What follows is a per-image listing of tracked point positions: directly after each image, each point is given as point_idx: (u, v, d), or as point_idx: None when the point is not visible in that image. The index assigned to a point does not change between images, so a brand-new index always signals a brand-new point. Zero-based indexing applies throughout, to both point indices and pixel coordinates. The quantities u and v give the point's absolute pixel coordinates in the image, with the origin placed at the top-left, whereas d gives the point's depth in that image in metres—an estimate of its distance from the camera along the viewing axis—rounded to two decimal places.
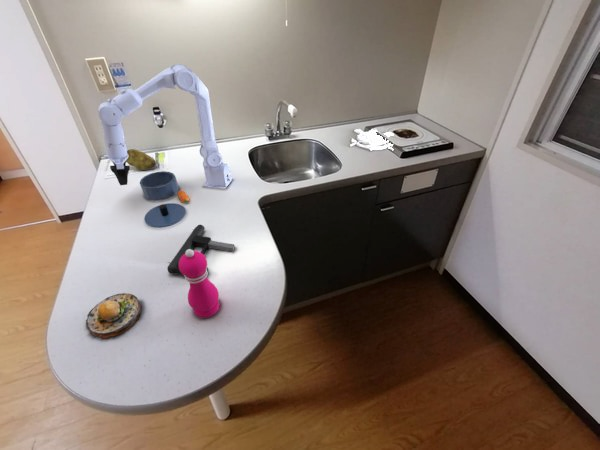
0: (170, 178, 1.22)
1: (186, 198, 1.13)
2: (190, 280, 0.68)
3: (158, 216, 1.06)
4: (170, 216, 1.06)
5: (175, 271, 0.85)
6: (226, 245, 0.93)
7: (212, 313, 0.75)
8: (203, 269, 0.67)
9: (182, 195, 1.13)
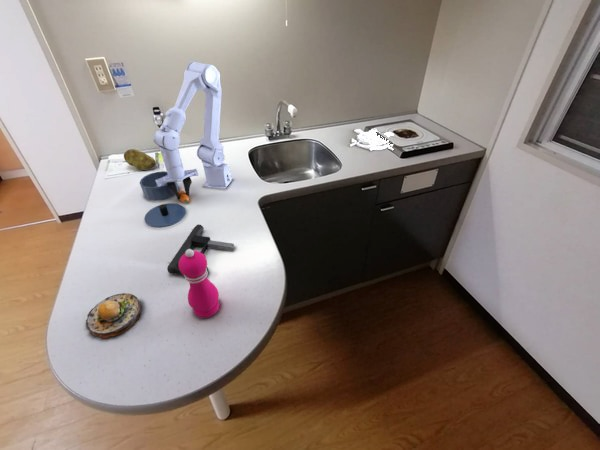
0: None
1: (186, 198, 1.13)
2: (190, 280, 0.68)
3: (158, 216, 1.06)
4: (170, 216, 1.06)
5: (175, 271, 0.85)
6: (226, 244, 0.93)
7: (212, 313, 0.75)
8: (203, 269, 0.67)
9: (182, 195, 1.13)
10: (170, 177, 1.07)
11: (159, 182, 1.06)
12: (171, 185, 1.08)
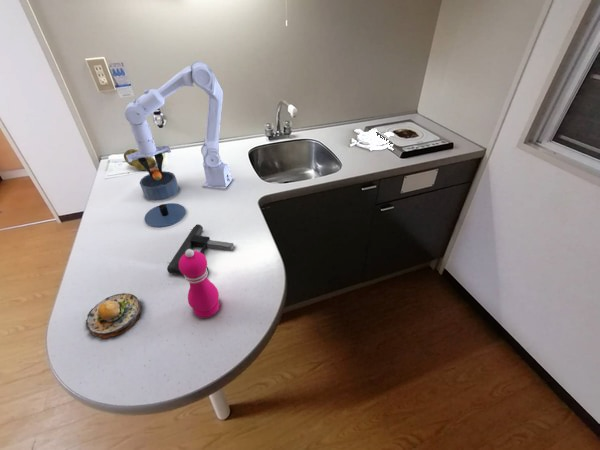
0: (170, 178, 1.22)
1: (158, 175, 1.12)
2: (190, 280, 0.68)
3: (158, 216, 1.06)
4: (170, 216, 1.06)
5: (175, 271, 0.85)
6: (225, 244, 0.94)
7: (212, 313, 0.75)
8: (203, 269, 0.67)
9: (154, 172, 1.13)
10: (141, 152, 1.07)
11: (129, 157, 1.06)
12: (142, 161, 1.08)
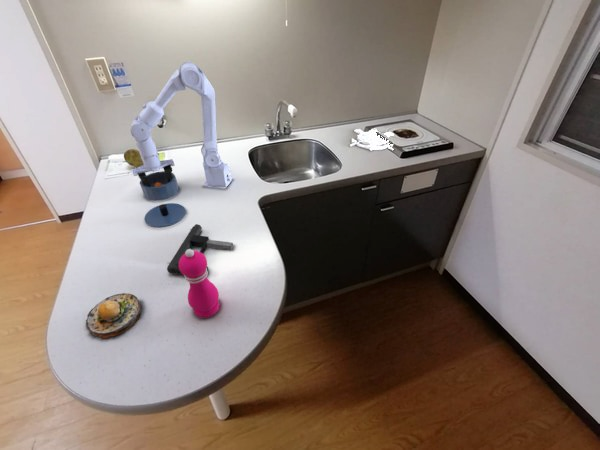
0: None
1: None
2: (190, 280, 0.68)
3: (158, 216, 1.06)
4: (170, 216, 1.06)
5: (175, 271, 0.85)
6: (225, 243, 0.94)
7: (212, 313, 0.75)
8: (203, 269, 0.67)
9: None
10: (146, 167, 1.10)
11: (135, 171, 1.09)
12: (142, 176, 1.11)
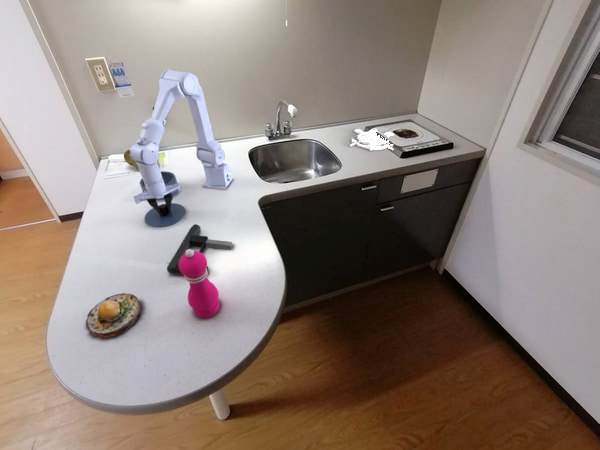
0: (170, 178, 1.22)
1: None
2: (190, 280, 0.68)
3: (158, 216, 1.06)
4: (170, 216, 1.06)
5: (175, 271, 0.85)
6: (224, 243, 0.94)
7: (212, 313, 0.75)
8: (203, 269, 0.67)
9: None
10: (149, 193, 0.99)
11: (137, 199, 0.98)
12: (151, 202, 1.00)
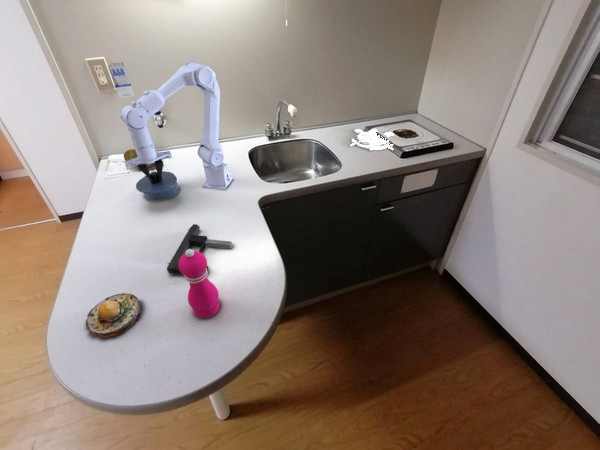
0: None
1: None
2: (190, 280, 0.68)
3: (149, 183, 1.07)
4: (161, 183, 1.07)
5: (175, 271, 0.85)
6: (224, 242, 0.94)
7: (212, 313, 0.75)
8: (203, 269, 0.67)
9: None
10: (140, 159, 1.00)
11: (128, 164, 0.99)
12: (142, 167, 1.01)
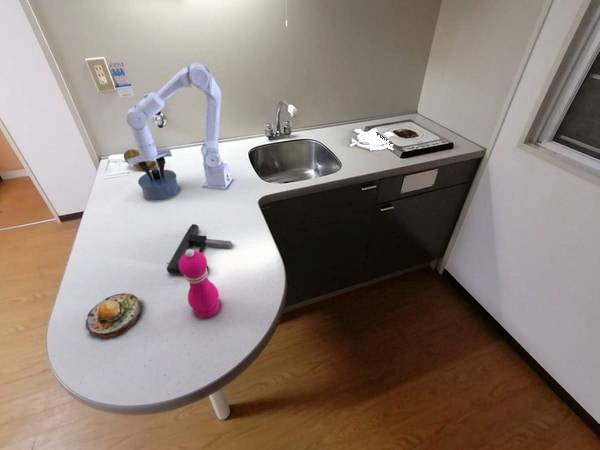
0: None
1: None
2: (190, 280, 0.68)
3: None
4: (162, 179, 1.15)
5: (175, 271, 0.85)
6: (223, 242, 0.94)
7: (212, 313, 0.75)
8: (203, 269, 0.67)
9: None
10: (142, 157, 1.08)
11: (131, 161, 1.07)
12: (142, 165, 1.09)
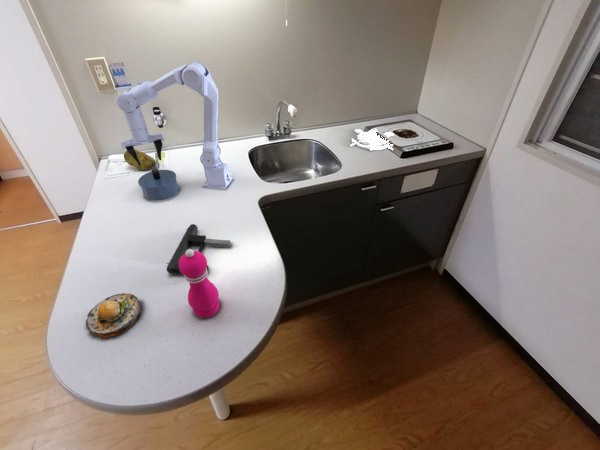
0: None
1: None
2: (190, 280, 0.68)
3: (151, 179, 1.15)
4: (162, 179, 1.15)
5: (175, 271, 0.85)
6: (222, 241, 0.94)
7: (212, 313, 0.75)
8: (203, 269, 0.67)
9: None
10: (135, 140, 1.10)
11: (124, 144, 1.09)
12: (130, 149, 1.11)
